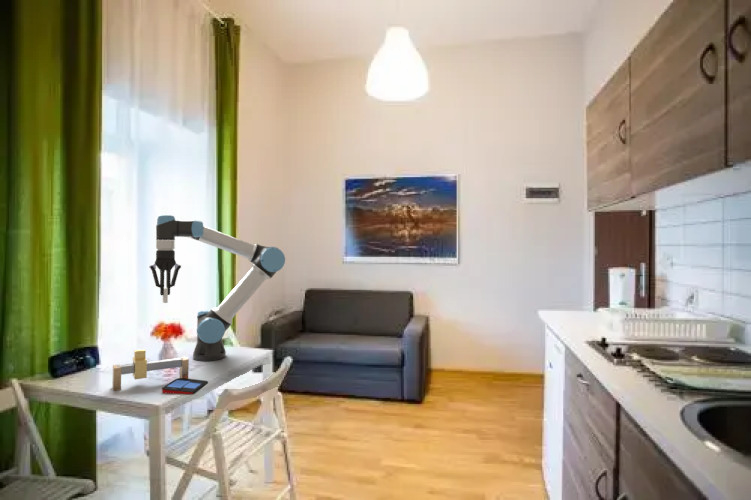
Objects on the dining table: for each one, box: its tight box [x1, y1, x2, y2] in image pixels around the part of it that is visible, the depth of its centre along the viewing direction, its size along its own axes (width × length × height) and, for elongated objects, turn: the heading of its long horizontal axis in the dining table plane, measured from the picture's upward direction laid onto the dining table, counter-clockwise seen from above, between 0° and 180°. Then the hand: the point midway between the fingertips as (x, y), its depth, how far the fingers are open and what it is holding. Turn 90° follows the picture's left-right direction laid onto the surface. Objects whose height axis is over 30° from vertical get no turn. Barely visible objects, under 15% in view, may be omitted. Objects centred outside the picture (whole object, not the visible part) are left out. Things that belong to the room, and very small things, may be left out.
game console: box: [161, 378, 209, 395], centre depth 170 cm, size 14×13×2 cm
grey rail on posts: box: [111, 356, 190, 392], centre depth 174 cm, size 26×5×9 cm, turn 125°
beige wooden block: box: [132, 348, 148, 380], centre depth 172 cm, size 4×7×10 cm, turn 35°
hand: (165, 302), depth 196 cm, fingers closed
